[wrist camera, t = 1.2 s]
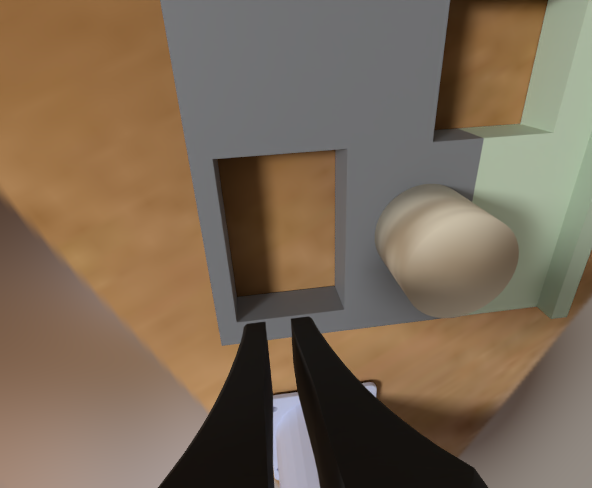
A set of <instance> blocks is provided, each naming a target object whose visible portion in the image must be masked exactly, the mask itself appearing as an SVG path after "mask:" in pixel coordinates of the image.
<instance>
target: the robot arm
mask: <svg viewBox="0 0 592 488" xmlns="http://www.w3.org/2000/svg"><path fill="white" fill-rule="evenodd" d="M291 331H292V347H293V363H294V371H295V377H296V384H297V391H298V392H294V393H286V394H279V395H273V391H272V381H271V370H270V361H269V351H268V341H267V332H266V322H257V323H249V324H246V325H245V326H244V329H243V334H242V338H241V342H240V345H239V348H238V352H237V355H236V357H235V360H234V362H233V365H232V367H231V370H230V373H229V375H228V377H227V379H226V381H225V384H224V386H223V388H222V390H221V392H220V394H219V396H218V398H217V400H216V402H215V404H214V406H213V408H212V409H211V411H210V413H209V415H208V417H207V418H206V420H205V422H204V423H203V425H202V427H201V428H200V430H199V431H198V433H197V435H196V436H195V438H194V439H193V441H192V442H191V444H190V445H189V447H188V448H187V450H186V451H185V453H184V454H183V456H182V457H181V458H180V459H179V461H178V462H177V463H176V465H175V466H174V467H173V469H172V470H171V471H170V473H169V474H168V475H167V477H166V478H165V479H164V481H163V482H162V483H161V484H160V486H159V487H158V488H274V475H275V479H277V480H279V481H280V488H488V487H487V485H486V484H485V482H484V481H483V480H482V478H481V477H480V475H479V474H478V473H477V471H476V470H475V469H474V468H473V467H472V466H470V465H468V464H467V463H465V462H463V461H462V460H460V459H458V458H457V457H455V456H453V455H452V454H450V453H448V452H447V451H445V450H443V449H442V448H440V447H439V446H437V445H436V444H434V443H433V442H431V441H430V440H429V439H427V438H426V437H424V436H423V435H421V434H420V433H419V432H417V431H416V430H415V429H414V428H412V427H411V426H410V425H408V424H407V423H406V422H404V421H403V420H402V419H401V418H399V417H398V416H397V415H395V414H394V413H393V412H392V411H391V410H390V409H388V408H387V407H386V406H385V405H384V404H383V403H382V402H380V401H379V400H378V399H377V398H376V394H377V388H376V385H375V384H374V383H373V382H366V383H361V382H360V381H359V380H358V379H357V378H356V377H355V376H354V375H353V374H352V372H351V371H350V370H349V369H348V368H347V367H346V366H345V364H344V363H343V362H342V361H341V360H340V358H339V357H338V356H337V355H336V353H335V352H334V351H333V350H332V348H331V347H330V346H329V344H328V343H327V341H326V340H325V339H324V337H323V336H322V334H321V333H320V331H319V330H318V328H317V326H316V325H315V323H314V321H313V319H312V318H311V317H309V316H308V317H299V318H291ZM273 467H274V475H273Z"/></svg>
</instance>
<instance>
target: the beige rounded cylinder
mask: <svg viewBox="0 0 592 488" xmlns="http://www.w3.org/2000/svg"><path fill="white" fill-rule="evenodd" d="M375 246H376V249H377V252H378V254H379V256H380V257H381V259H382V260H383V262H384V263H385V265H386V266H387V268H388V269H389V271H390V272H391V274H392V275H393V277H394V278H395V280H396V281H397V282H398V284H399V285H400V287H401V288H402V290H403V291H404V293H405V294H406V296H407V297H408V299H409V300H410V302H411V303H412V304H413V306H414V307H415V308H417V309H418V310H419V311H421V312H422V313H424V314H426V315H429V316H432V317H437V318H454V317H460V316H463V315H467V314H469V313H472V312H474V311H476V310H478V309H480V308H482V307H484V306H485V305H487V304H488V303H490V302H491V301H492V300H494V299H495V298H496V297H497V296H498V295H499V294H500V293H501V292H502V291H503V290H504V288H505V287H506V286H507V285H508V283H509V282H510V280H511V278H512V276H513V274H514V272H515V270H516V267H517V263H518V258H519V247H518V242H517V239H516V237H515V235H514V233H513V232H512V230H511V229H510V228H509V227H508V226H507V225H506V224H504V223H503V222H501V221H500V220H498V219H497V218H495V217H494V216H492V215H491V214H489V213H488V212H486V211H485V210H483V209H482V208H480V207H479V206H477V205H476V204H474V203H473V202H471V201H470V200H468V199H467V198H465V197H464V196H462V195H461V194H459V193H458V192H456V191H455V190H453V189H451V188H449V187H447V186H444V185H440V184H423V185H419V186H415V187H412V188H410V189H408V190H406V191H404V192H402V193H401V194H399V195H398V196H397V197H395V198H394V199H393V200H392V201H391V202H390V203H389V204H388V205H387V206H386V208H385V209H384V210H383V212H382V214H381V215H380V217H379V220H378V222H377V225H376V229H375Z"/></svg>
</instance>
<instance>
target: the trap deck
mask: <svg viewBox="0 0 592 488" xmlns="http://www.w3.org/2000/svg"><path fill="white" fill-rule="evenodd" d="M160 2H161V7H162V13H163V18H164V24H165V30H166V35H167V41H168V46H169V52H170V58H171V63H172V69H173V75H174V80H175V86H176V91H177V97H178V103H179V108H180V114H181V119H182V125H183V131H184V136H185V142H186V147H187V153H188V159H189V164H190V170H191V175H192V181H193V187H194V192H195V198H196V203H197V209H198V215H199V220H200V226H201V231H202V237H203V243H204V248H205V254H206V260H207V265H208V271H209V276H210V282H211V288H212V293H213V299H214V304H215V310H216V316H217V321H218V327H219V332H220V338H221V344H222V346H223V345H231V344H240V342H241V338H242V334H243V329H244V326H245V325H246V324H249V323H257V322H266V332H267V340H272V339H280V338H288V337H292V331H291V318H299V317H308V316H309V317H311V318H312V319H313V321H314V323H315V325H316V326H317V328H318V330H319V331H320V333H328V332H336V331H344V330H352V329H360V328H368V327H376V326H384V325H392V324H400V323H408V322H416V321H424V320H432V319H440V318H437V317H432V316H429V315H426V314H424V313H422V312H421V311H419V310H418V309H417V308H415V307H414V306H413V304H412V303H411V302H410V300H409V299H408V297H407V296H406V294H405V293H404V291H403V290H402V288H401V287H400V285H399V284H398V282H397V281H396V280H395V278H394V277H393V275H392V274H391V272H390V271H389V269H388V268H387V266H386V265H385V263H384V262H383V260H382V259H381V257H380V256H379V254H378V252H377V249H376V246H375V229H376V225H377V222H378V220H379V217H380V215H381V214H382V212H383V210H384V209H385V208H386V206H387V205H388V204H389V203H390V202H391V201H392V200H393V199H394V198H395V197H397V196H398V195H399V194H401V193H402V192H404V191H406V190H408V189H410V188H412V187H415V186H419V185H423V184H440V185H444V186H447V187H449V188H451V189H453V190H455V191H456V192H458V193H459V194H461V195H462V196H464V197H465V198H467V199H468V200H470V201H471V202H473V203H474V204H476V205H477V206H479V207H480V208H482V209H483V210H485V211H486V212H488V213H489V214H491V215H492V216H494V217H495V218H497V219H498V220H500V221H501V222H503V223H504V224H506V225H507V226H508V227H509V228H510V229H511V230H512V232H513V233H514V235H515V237H516V239H517V242H518V247H519V258H518V263H517V267H516V270H515V272H514V274H513V276H512V278H511V280H510V282H509V283H508V285H507V286H506V287H505V288H504V290H503V291H502V292H501V293H500V294H499V295H498V296H497V297H496V298H495V299H494V300H492V301H491V302H490V303H488V304H487V305H485V306H484V307H482V308H480V309H478V310H476V311H474V312H472V313H469V314H467V315H472V314H480V313H488V312H496V311H504V310H512V309H520V308H528V307H536V306H537V307H538V308H539V309H540V310H541V311H543V312H544V313H545V314H546V315H547V316H548V317H549V318H551V319H554V318H562V317H567V315H568V312H569V310H570V307H571V304H572V302H573V299H574V296H575V293H576V291H577V288H578V285H579V282H580V280H581V277H582V274H583V271H584V269H585V266H586V263H587V260H588V258H589V255H590V252H591V249H592V0H548V4H547V8H546V12H545V17H544V21H543V26H542V30H541V35H540V39H539V44H538V48H537V52H536V57H535V61H534V66H533V70H532V75H531V79H530V84H529V88H528V92H527V97H526V101H525V106H524V110H523V115H522V119H521V123H520V124H511V125H498V126H484V127H471V128H458V129H444V130H434V127H435V119H436V111H437V103H438V95H439V86H440V78H441V70H442V62H443V54H444V46H445V38H446V30H447V22H448V13H449V5H450V0H160ZM325 150H336V156H335V286H330V287H321V288H312V289H303V290H294V291H285V292H276V293H267V294H259V295H250V296H241V297H237V294H236V287H235V280H234V273H233V266H232V259H231V252H230V245H229V238H228V231H227V224H226V217H225V210H224V203H223V196H222V189H221V182H220V175H219V168H218V161H217V159H222V158H235V157H248V156H260V155H273V154H286V153H299V152H312V151H325ZM463 316H464V315H463Z"/></svg>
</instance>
